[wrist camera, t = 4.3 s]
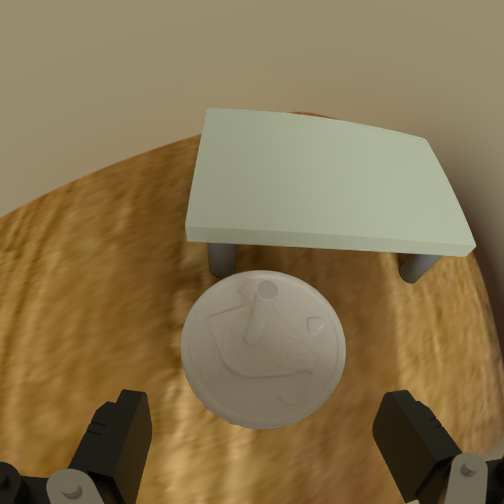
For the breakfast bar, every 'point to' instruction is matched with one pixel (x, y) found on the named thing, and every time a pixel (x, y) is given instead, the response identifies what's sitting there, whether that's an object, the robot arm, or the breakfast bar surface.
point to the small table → (320, 190)
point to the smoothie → (262, 349)
